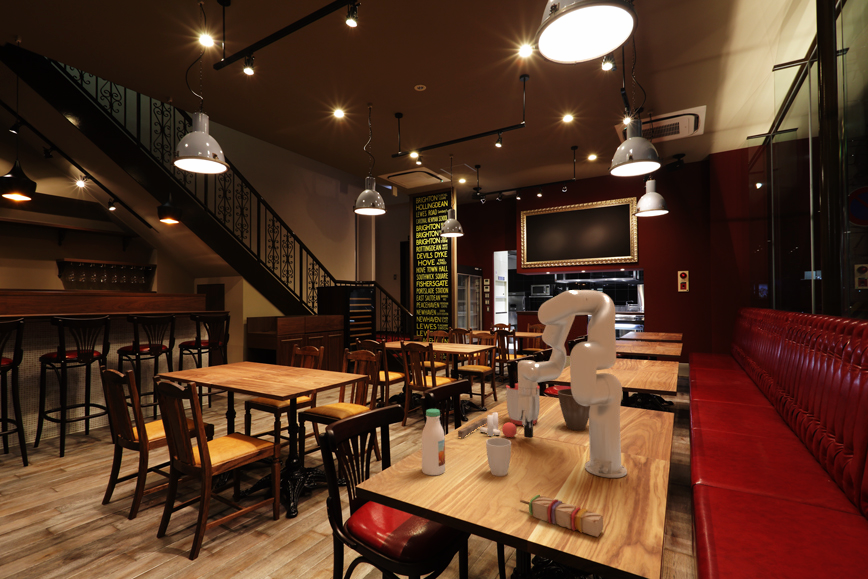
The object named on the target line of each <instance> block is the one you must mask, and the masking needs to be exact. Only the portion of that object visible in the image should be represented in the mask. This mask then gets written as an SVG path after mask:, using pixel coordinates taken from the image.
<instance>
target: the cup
mask: <svg viewBox="0 0 868 579" xmlns="http://www.w3.org/2000/svg"><path fill="white" fill-rule="evenodd" d="M485 446H486V456H487V462H488V467H489V469H490V473H491V475H492V476H497V477H504V476H507V474H508V472H509V469H510V462H511V454H512V452H511V451H512V441H511V440H510V439H508V438H503V437H490V438H489V439H486V441H485Z"/></svg>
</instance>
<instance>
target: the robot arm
mask: <svg viewBox="0 0 868 579" xmlns="http://www.w3.org/2000/svg"><path fill="white" fill-rule="evenodd" d="M585 315H587V316H589V315H590V316H591V318H590V319H589V322H588V325H587V341H581V342H579V343H576V344H575V345H574V346H573V348H572V349H571V351H570V356H569V370H570V389H571V391H572V395H573V398H574V399H575V401H576V402H577V403H578V404H580V405H582V406H590V410H589V419H588V437H589V440H588V441H589V461H587V462H585V464H584V467H585V468H584V469H585V470H586V471H587V472H588V473H590V474H592V475H595V476H599V477H602V478H609V479H610V478H611V479H616V478H623V477H625V476H627V473H628V470H627V468H626V467H625V466H624V465H623V464H622V450H621V448H622V447H621V446H622V445H621V441H622V440H621V402H622V398H623V386H622V383H621V380H620V379H619V378H618V377H616V376H615V375H613V374H611V373H607V372H600V373H597V371H603V370H607V369H611V368H613V367H614V366H615V365H616V361H617V345H616V344H617V342H616V306H615V304H614V301H613V299H612V298H611V297H610V296H609V295H608V294H606V293H604V292H601V291H598V290H592V289H581V290H580V289H572V290H565V291H563V292H560V293H559V294H558V295H556V296H554V297H552V298H549V299H548V300H546V301H545V302H543V303H542V304H541V305H540V307H539V308H538V311H537V318H538V320H539V322H540V323H541V324H542V325H544V326H545V328H544V329H543V332H542V336H541V339H542V341H543V342H544V343H545V344H546V345H547V346H550V347H551V348H552V352H551V355H550V358H549V360H548V361H537V362H536V361H534V360H530V359H529V360H527V359H526V360H525V359H524V360H522V359H521V360H519V361H518V363H517V381H518V382H517V383H518V395H519V400H518V420H522V425H524V426H523V436H524V438H528V439H532V438H533V437H534V425H533V420H534V418H535V417H536V416H537V403H536V396H537V385H538V383H542V382H548V381H555V380H557V379H558V378H560V377H561V375H562V373H563V371H564V368H565V367H566V364H567V358H568V357H567V350H566V347H565V342H566V340H567V337H568V335H569V334H570V333H569V332H570V330H571V328H572V325H573V323H574V321H575V317H576V316H585ZM522 425H521V426H522Z"/></svg>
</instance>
